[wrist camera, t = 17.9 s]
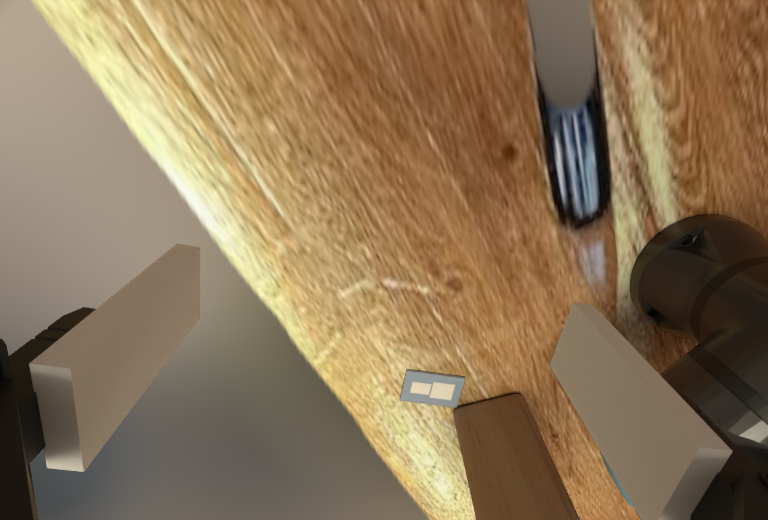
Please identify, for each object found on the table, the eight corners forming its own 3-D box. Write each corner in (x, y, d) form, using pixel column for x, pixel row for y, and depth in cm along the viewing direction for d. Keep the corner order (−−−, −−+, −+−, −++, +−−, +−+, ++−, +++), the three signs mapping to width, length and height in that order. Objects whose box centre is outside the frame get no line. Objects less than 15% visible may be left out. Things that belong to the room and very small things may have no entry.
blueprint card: (464, 376, 59) (465, 379, 58) (456, 405, 61) (456, 408, 60) (406, 368, 58) (406, 371, 58) (399, 398, 60) (400, 400, 60)
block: (533, 441, 63) (596, 589, 45) (466, 457, 64) (501, 608, 46) (521, 388, 60) (584, 526, 41) (450, 406, 61) (482, 548, 42)
